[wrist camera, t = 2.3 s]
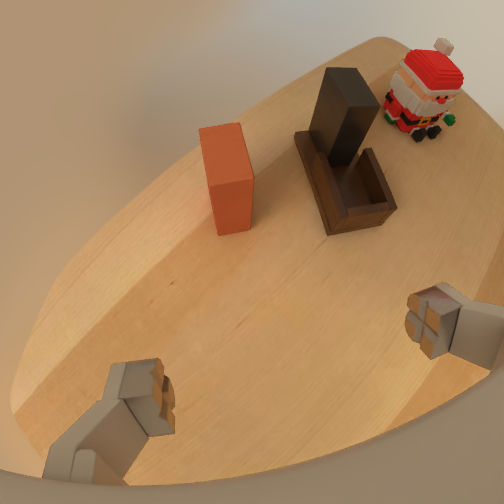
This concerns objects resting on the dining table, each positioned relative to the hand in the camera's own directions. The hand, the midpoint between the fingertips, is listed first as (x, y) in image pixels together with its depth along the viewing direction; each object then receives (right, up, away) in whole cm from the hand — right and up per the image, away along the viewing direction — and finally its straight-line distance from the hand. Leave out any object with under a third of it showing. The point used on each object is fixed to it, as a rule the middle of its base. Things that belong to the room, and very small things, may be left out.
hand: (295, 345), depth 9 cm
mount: (+7, +10, +21) cm, 25 cm away
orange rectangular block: (-3, +7, +20) cm, 21 cm away
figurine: (+19, +20, +25) cm, 37 cm away
